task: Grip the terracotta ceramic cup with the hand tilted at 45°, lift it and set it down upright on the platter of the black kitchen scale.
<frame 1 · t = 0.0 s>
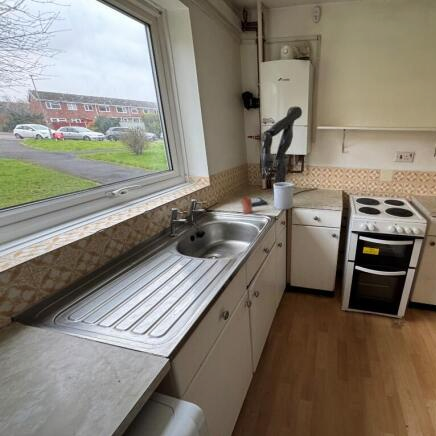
hand: (265, 179, 188), 17 cm above the countertop, tool pointing down, fingers open, 8 cm apart
utensil holder: (283, 207, 175), on the countertop
kitchen scale: (254, 203, 184), on the countertop
cup: (247, 212, 164), on the countertop
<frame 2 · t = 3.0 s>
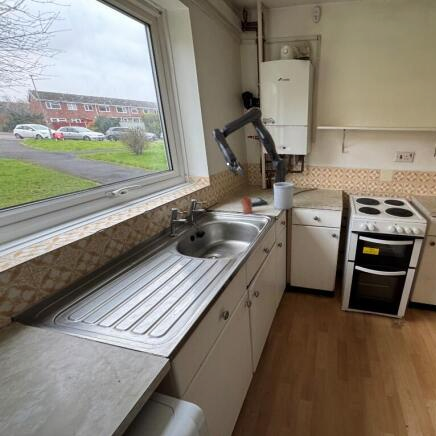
hand: (240, 175, 166), 24 cm above the countertop, tool tilted 35°, fingers open, 8 cm apart
nothing on the countertop moved.
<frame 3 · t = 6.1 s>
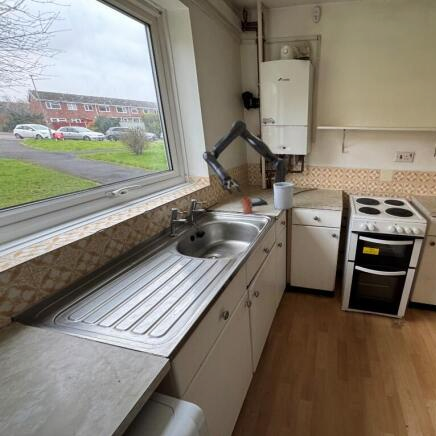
hand: (236, 192, 164), 13 cm above the countertop, tool tilted 45°, fingers open, 8 cm apart
nothing on the countertop moved.
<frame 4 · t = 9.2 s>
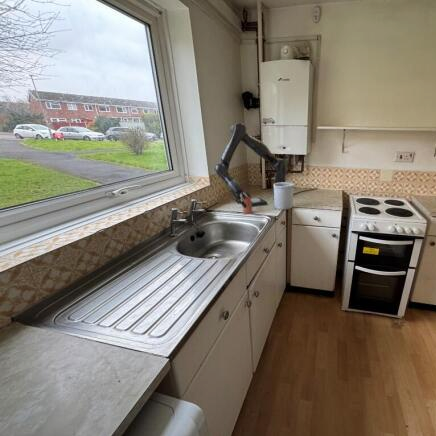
hand: (249, 205, 161), 5 cm above the countertop, tool tilted 45°, fingers closed on cup, 6 cm apart
cup: (247, 212, 164), on the countertop, touching gripper
everything else where it was.
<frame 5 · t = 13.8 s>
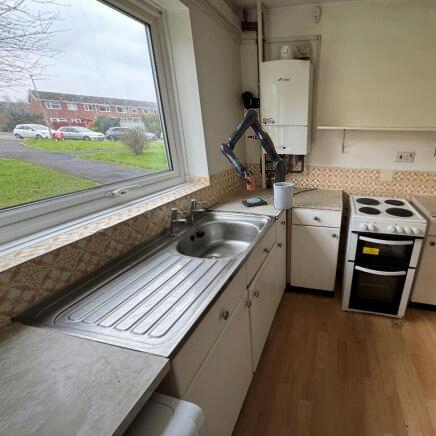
hand: (252, 183, 170), 18 cm above the countertop, tool tilted 45°, fingers closed on cup, 6 cm apart
cup: (251, 189, 172), point 13 cm above the countertop, touching gripper
everything else where it was.
when the fingers open (8 cm above the countertop, at t = 18.3 s): cup stays where it is, resting on kitchen scale.
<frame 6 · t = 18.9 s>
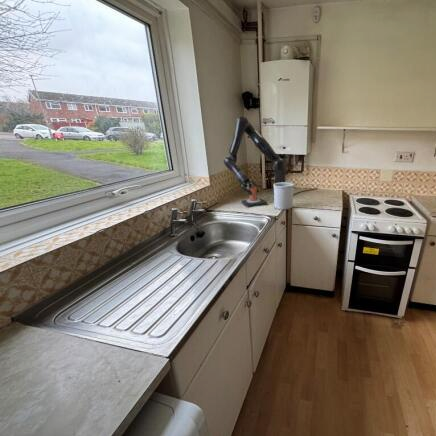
hand: (254, 193, 181), 9 cm above the countertop, tool tilted 45°, fingers open, 8 cm apart
cup: (253, 200, 184), point 3 cm above the countertop, touching kitchen scale
everything else where it was.
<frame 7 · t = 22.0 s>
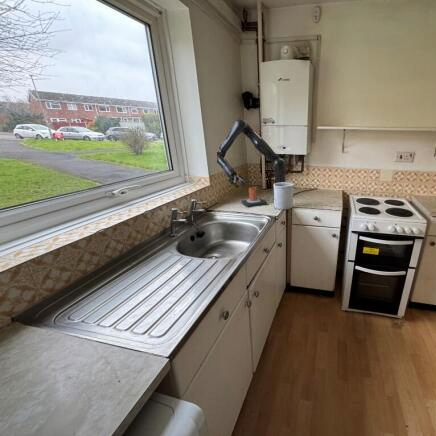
hand: (241, 186, 186), 13 cm above the countertop, tool tilted 45°, fingers open, 8 cm apart
nothing on the countertop moved.
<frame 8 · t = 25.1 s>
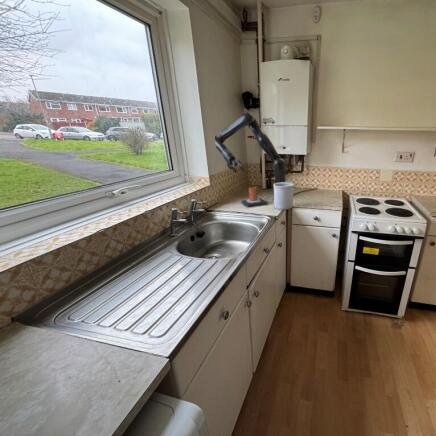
hand: (240, 171, 182), 25 cm above the countertop, tool tilted 45°, fingers open, 8 cm apart
nothing on the countertop moved.
at the end: cup inside the target area on the kitchen scale (0.1 cm from its centre), point 2.8 cm above the kitchen scale's base; cup tilted 0°; the gripper is holding nothing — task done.
